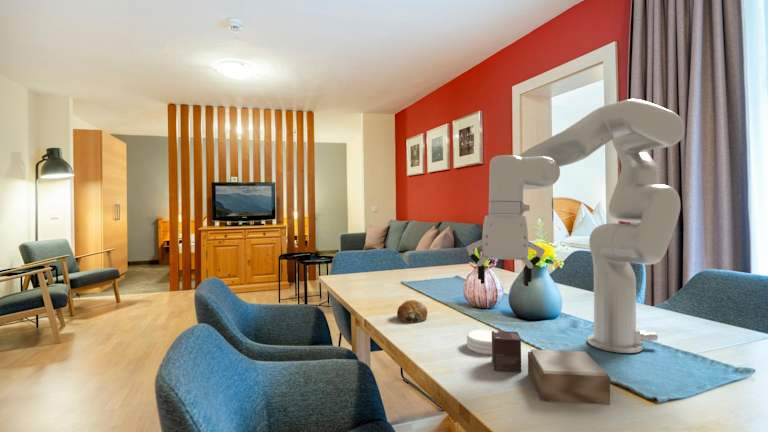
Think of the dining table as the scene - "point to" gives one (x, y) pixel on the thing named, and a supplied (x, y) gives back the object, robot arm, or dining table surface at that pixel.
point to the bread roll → (412, 312)
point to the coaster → (480, 341)
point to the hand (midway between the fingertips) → (503, 284)
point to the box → (506, 351)
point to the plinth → (568, 377)
